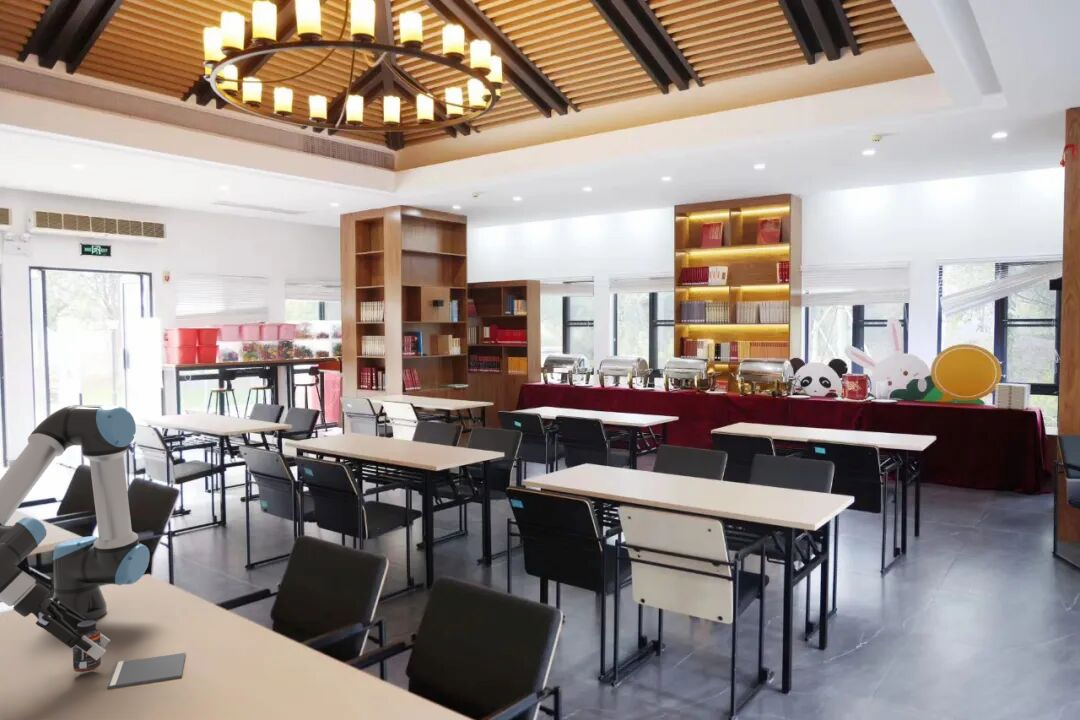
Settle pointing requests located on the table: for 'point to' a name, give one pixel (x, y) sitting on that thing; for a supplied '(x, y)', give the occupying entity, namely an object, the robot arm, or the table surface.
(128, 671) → the grey flat slab
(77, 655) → the supplement bottle
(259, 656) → the table surface
